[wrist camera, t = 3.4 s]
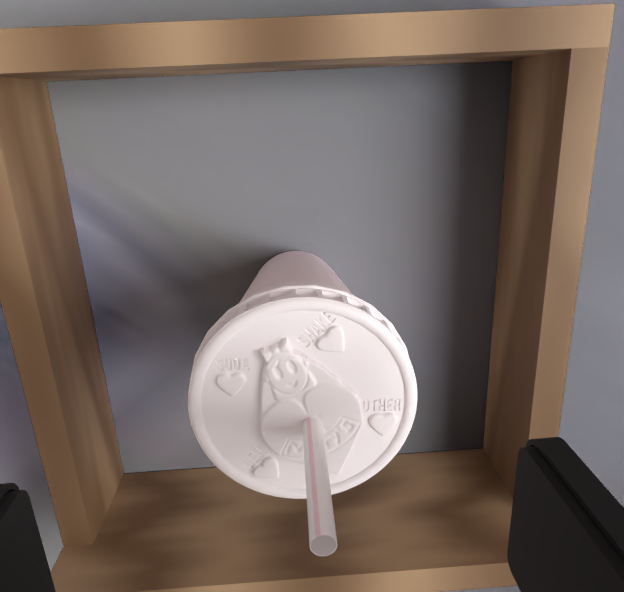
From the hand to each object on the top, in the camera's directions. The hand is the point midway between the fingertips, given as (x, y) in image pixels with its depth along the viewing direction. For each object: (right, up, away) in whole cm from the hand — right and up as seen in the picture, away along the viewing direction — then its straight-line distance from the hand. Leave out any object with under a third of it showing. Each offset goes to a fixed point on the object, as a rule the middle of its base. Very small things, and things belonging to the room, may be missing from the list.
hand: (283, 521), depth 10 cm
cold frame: (0, +5, +13) cm, 14 cm away
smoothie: (0, +5, +14) cm, 14 cm away
